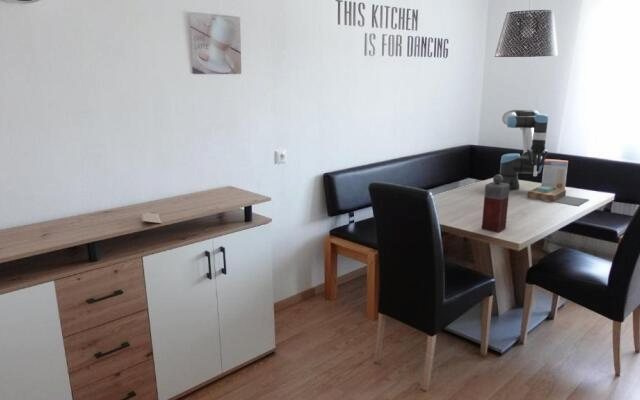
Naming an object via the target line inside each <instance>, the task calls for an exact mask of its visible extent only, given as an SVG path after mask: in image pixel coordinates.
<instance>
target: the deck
mask: <svg viewBox="0 0 640 400" xmlns="http://www.w3.org/2000/svg"><path fill="white" fill-rule="evenodd" d="M539 187H541V186H537V187H535V188H533V189H530V190H528V191H527V198H528V199H534V200H539V201H541V200H542V201H546V202H551V203H555V202H554V201H556V200H558V199H560V198H562V197H564V196H567V195H566V193H567V189H565V190H562V189H556V188H553V190H552V191H550V192H542V191H538V188H539Z"/></svg>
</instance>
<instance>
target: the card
mask: <svg viewBox="0 0 640 400" xmlns="http://www.w3.org/2000/svg"><path fill="white" fill-rule="evenodd" d="M538 187H539V188H538V191H542V192H550V191H552V190H553V187H550V186H541V187H540V186H538Z"/></svg>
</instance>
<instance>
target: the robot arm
mask: <svg viewBox="0 0 640 400" xmlns="http://www.w3.org/2000/svg"><path fill="white" fill-rule="evenodd" d="M501 121H502V122H503V124H505V125H506V126H507V128H510V129H517V128H518V129H520V130H521V133H522V144H523V145H522V147H523V148H522V151H523V153H522V155H520V153H519V152H518V153H516V152H515V153H513V152H511V153H505V154H503V155H502V156H501V157H500V158H501V159H500V168H499V174H500V175H502V177H503V181H502V182H501V183H507V184H509V185H510V188H509V191H513V190H514V191H515V190H516V191H517V190H519V189H520V181H519V177H518V176H519V174H533V175H532V176H533V177H538V174H540V173H541V172H542V171H543V169H542V168H543V167H544V161H545V159H547V158H546V157H547V155H548V154H549V150H547V149H546V138H547V129H548V123H549V115H548V114H546V113H545V114H543V113H539V111H537V110H535V109H512V110H508V111H506V112H505V113H504V114H503V115H502V118H501ZM542 153H543V154H542Z"/></svg>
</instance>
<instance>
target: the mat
mask: <svg viewBox="0 0 640 400" xmlns="http://www.w3.org/2000/svg"><path fill="white" fill-rule="evenodd" d="M588 201H590V199H588V198H582V197H576V196H570V195H565V196H564V197H562V198H560V199H558V200H556V201H554V202H553V203H557V204H558V203H559V204H563V205H564V204H565V205H569V206H570V205H571V206H576V207H579V206H581V205H583V204H585V203H586V202H588Z"/></svg>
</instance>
